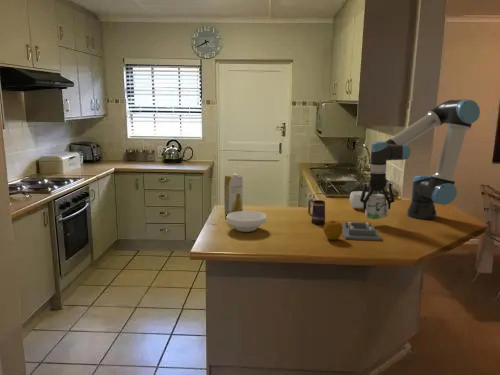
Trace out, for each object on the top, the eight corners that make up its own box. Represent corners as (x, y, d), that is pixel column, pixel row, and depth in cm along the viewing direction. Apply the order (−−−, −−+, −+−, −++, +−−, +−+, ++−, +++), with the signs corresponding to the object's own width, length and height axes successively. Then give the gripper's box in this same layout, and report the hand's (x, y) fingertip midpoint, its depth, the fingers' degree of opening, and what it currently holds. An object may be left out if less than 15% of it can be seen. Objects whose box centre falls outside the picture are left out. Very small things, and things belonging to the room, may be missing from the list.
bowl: (220, 226, 203) (220, 212, 202) (256, 222, 211) (256, 209, 209) (234, 237, 185) (234, 222, 184) (272, 233, 193) (273, 218, 192)
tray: (372, 228, 202) (373, 220, 201) (381, 240, 183) (381, 231, 182) (340, 226, 204) (340, 218, 203) (345, 239, 184) (345, 230, 184)
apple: (329, 243, 178) (330, 224, 177) (319, 237, 186) (320, 219, 184) (345, 240, 182) (346, 222, 180) (334, 235, 190) (335, 217, 188)
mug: (327, 223, 211) (328, 200, 208) (319, 225, 206) (320, 202, 204) (312, 219, 218) (313, 197, 216) (304, 221, 213) (304, 199, 211)
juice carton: (231, 218, 218) (231, 175, 213) (222, 215, 223) (222, 173, 219) (244, 216, 224) (244, 173, 219) (235, 213, 229) (235, 171, 225)
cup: (374, 209, 241) (375, 193, 239) (360, 212, 234) (361, 196, 232) (358, 205, 251) (359, 190, 249) (344, 207, 244) (345, 192, 242)
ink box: (373, 219, 203) (374, 197, 201) (366, 217, 207) (367, 195, 205) (386, 217, 207) (387, 194, 205) (378, 215, 211) (379, 193, 209)
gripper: (398, 171, 205) (396, 213, 209) (354, 171, 208) (353, 213, 212) (402, 173, 198) (400, 217, 202) (356, 173, 200) (355, 217, 205)
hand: (376, 215), depth 207 cm, fingers closed on ink box, 9 cm apart
